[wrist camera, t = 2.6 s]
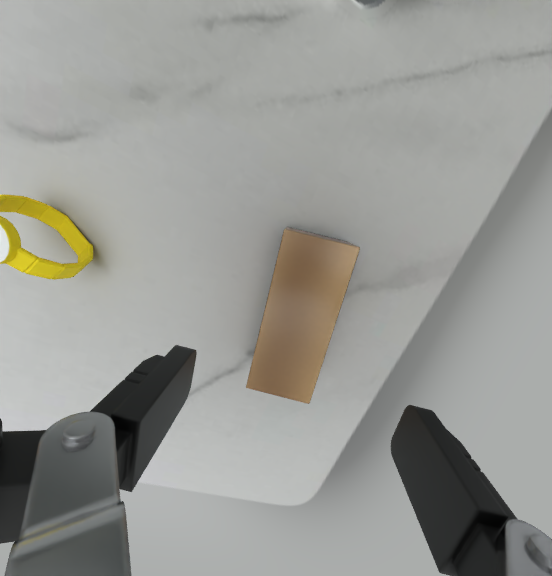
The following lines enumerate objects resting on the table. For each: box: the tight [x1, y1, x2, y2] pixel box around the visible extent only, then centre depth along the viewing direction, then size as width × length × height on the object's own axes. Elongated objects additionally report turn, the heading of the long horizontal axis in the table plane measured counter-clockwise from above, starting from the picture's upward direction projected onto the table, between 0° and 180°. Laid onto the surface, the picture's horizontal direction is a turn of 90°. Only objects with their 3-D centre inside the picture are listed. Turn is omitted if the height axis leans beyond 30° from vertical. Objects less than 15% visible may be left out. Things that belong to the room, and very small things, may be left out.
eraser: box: [246, 227, 360, 404], centre depth 18 cm, size 4×11×4 cm, turn 166°
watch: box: [0, 195, 93, 279], centre depth 17 cm, size 6×3×6 cm, turn 38°
